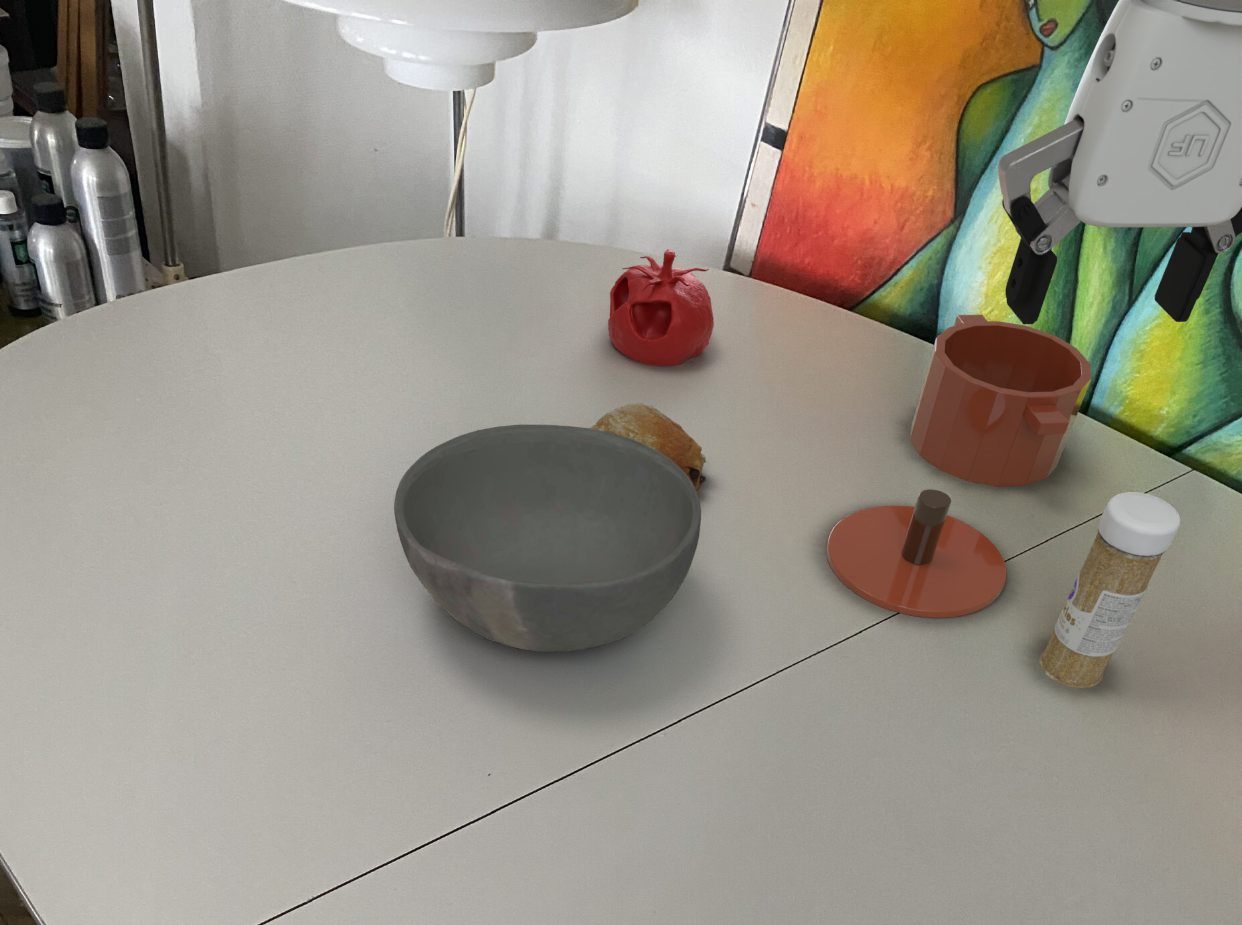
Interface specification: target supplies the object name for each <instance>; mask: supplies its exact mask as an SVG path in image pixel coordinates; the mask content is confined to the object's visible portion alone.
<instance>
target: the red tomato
mask: <svg viewBox="0 0 1242 925" xmlns="http://www.w3.org/2000/svg"><path fill="white" fill-rule="evenodd" d="M677 257H678V255H677V254H676V251H675V250H672V249H669V248H668V249H666V250H665V251H664V252H663V260H662V265H659V264H658V263H657V262H656V260H655V259H654V258H653V257H651V256H648V255H646V256H640V259H646V260H647V261H648V262H649V264H637V265H633V266H629V267H623V268H621V269H622V270H626V271H624V272H623V273H622V274H621V275H620V276H619V277H618V278H617V279H616V280H615V282H614V285H613V286H612V288H611V289H610V292H609V299H610V300H609V318H608V320H607V329H608V330H607V331H608V337H609V339H610V341H611V343H612V345H613V346H614V348H615V350H617V351H619V353H621V354H622V355H624V356H626V357H627V358H628V359H631V360H632V361H633V362H637V363H641V364H643V365H647V366H654V367H655V366H656V367H675V366H676V367H677V366H679V365H682V364H684V362H686V361H687V360H688V359H691V358H696V357H698V356H700V355H701V354H702V353H703V352H704V351H705V350H706V349H707V346H709V344H710V340H711V337H712V334H713V331H714V325H715V321H714V320H715V319H714V312H713V309H712V299H711V296H710V294H709V292H708V289H707V288H706V286H705V284H703V282H702V281H700V280H699V279H698V278H697V277H696V275H694V274H693V273H692V272H707V271H709V270H710V268H706V269H704V268H700V267H693V268H689V269H685V268H679V267H678V268H677V267H673V264H674V262H675V258H677Z"/></svg>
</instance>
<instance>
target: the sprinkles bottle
mask: <svg viewBox="0 0 1242 925" xmlns="http://www.w3.org/2000/svg"><path fill="white" fill-rule="evenodd" d="M1097 524H1098V526H1097V533H1096V535H1095V538H1094V540H1093V543H1092V545H1091V547H1090V549H1089V552H1088V553H1087V556H1086V558H1085V560H1084V563H1083V565H1082V567H1081V569H1080V570H1079V572H1078V574H1077V575H1076V576H1077V577H1076V579H1075V581H1074V583H1073V585H1072V588H1071V590H1070V592H1069V594H1068V596H1067V599H1066V600H1065V603H1064V605H1063V607H1062V609H1061V611H1060V614H1059V616H1058V618H1057V619H1056V622H1055V625H1054V629H1053V631H1052V634H1051V635H1050V637H1049V640H1048V643H1046V646H1045V648H1044V651H1043V652H1041V654H1040V656H1039V659H1038V660H1039V661H1038V663H1039V667H1040V669H1041V670H1042V671H1043V673H1044V674H1045V675H1046V676H1047V677H1048V678H1049V679H1051V680H1053V681H1054V682H1056V683H1058V684H1061V685H1062V686H1065V687H1069V688H1075V689H1090V688H1093V687H1095V686H1096V685H1097V684H1100V682H1101V681H1102V680H1103V677H1104V673H1105V672H1104V671H1105V670H1106V668H1107V666H1108V665H1109V662H1110V660H1111V658H1112V657H1113V654H1114V652H1115V651H1116V650H1117V648H1118V647H1119V645H1120V643H1121V641H1122V639H1123V637H1124V635H1125V633H1126V631H1127V630H1128V627H1129V625H1130V623H1131V621H1132V620H1133V617H1134V615H1135V613H1136V611H1137V609H1138V607H1139V605H1140V603H1141V602H1142V600H1143V598H1144V596H1145V593H1146V592H1147V589H1148V587H1149V583H1150V581H1151V579H1152V576H1153V575H1154V574H1155V573H1154V572H1155V570H1156V569H1157V567H1158V565H1159V563H1160V560H1161V559H1162V556H1163V555H1164V554H1165V553H1166V552H1167V550H1168V549H1169V548H1170V547H1171V545H1172V543H1173V542H1174V539H1175V538H1176V535H1177V533H1178V531H1179V528H1180V526H1181V517H1180V513H1179V512H1178V510H1177V509H1176V508H1175V507H1173V505H1171V504H1170V503H1169V502H1168V501H1166V500H1164V499H1163V498H1160V497H1158V496H1155V495H1153V494H1149V493H1145V492H1139V491H1126V492H1121V493H1118V494H1116V495H1113V496H1112V497H1111V498H1110V499H1109V500H1108V502H1107V504H1106V505H1105V508H1104V510H1103V512H1102V514H1101V516H1100V518H1099V521H1098V523H1097Z"/></svg>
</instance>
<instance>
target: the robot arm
mask: <svg viewBox="0 0 1242 925" xmlns="http://www.w3.org/2000/svg"><path fill="white" fill-rule="evenodd" d="M996 168H997V174H998V179H999V188H1000V192H1001V195H1002V201H1001V206H1002V209H1003V210H1004V211H1005V213H1006V215H1007V217H1008V218H1009V220H1010V223H1011V224H1012V225H1013V227H1014V230H1015V232H1016V233H1017V235H1019V237H1020V239H1019V243H1018V247H1017V249H1016V253H1015V255H1014V259H1013V262H1012V265H1011V267H1010V268H1011V269H1010V272H1009V275H1008V279H1007V280H1006V285H1005V290H1004V291H1005V292H1004V293H1005V298H1006V304H1007V306H1008V307H1009V309H1010V310H1011V311H1012V312H1013V313H1014V315H1015V316H1016V318H1017V319H1018V320H1019V321H1020V322H1021V323H1022V325H1034V324H1035V323H1036V322H1038V320H1039V318H1040V314H1041V311H1042V308H1043V306H1044V302H1045V300H1046V296H1047V294H1048V290H1049V287H1050V284H1051V282H1052V279H1053V275H1054V273H1055V270H1056V266H1057V264H1058V256H1057V254H1055V252H1054V251H1053V248H1054V247H1055V246H1056V245H1057V244H1058V243H1060V241H1062V240H1063V239H1064V238H1065V237H1066V236H1067V235H1069V233H1070V232H1071V231H1073V230H1074V229H1075V228H1076V227H1077V226H1078V225H1079V224H1080V223H1081V222H1082V223H1083V224H1086V225H1089V226H1092V227H1098V228H1100V227H1101V228H1191V230H1190V231H1182V232H1181V234H1180V236H1179V237H1178V238H1177V239H1176V242H1175V244H1174V246H1173V249H1172V252H1171V255H1170V256H1169V259H1168V261H1167V265H1166V266H1165V269H1164V271H1163V274H1162V276H1161V279H1160V281H1159V284H1158V286H1157V288H1156V291H1155V294H1154V301H1155V302H1156V304H1157V305H1158V306H1159V307H1160V308H1162V309H1163V311H1164V312H1165V313H1166V314H1167V315H1168V316H1169V317H1170V318H1171V319H1172V320H1174V321H1175V322H1176V323H1186V322H1187V321H1189V319H1190V316H1191V315H1192V312H1193V309H1194V307H1195V305H1196V303H1197V300H1198V299H1199V298H1200V297H1201V295H1202V293H1203V291H1204V289H1205V286H1206V283H1207V281H1208V279H1209V276H1210V274H1211V272H1212V271H1213V267H1214V265H1215V263H1216V260H1217V258H1218V256H1219V254H1221V255H1222V254H1225V253H1227V252H1229V250H1231V249H1232V248H1233V246H1234V244H1235V242H1236V238H1237V237H1238V236H1239V235H1241V234H1242V0H1118V1H1117V3H1116V5H1115V7H1114V9H1113V10H1112V13H1111V15H1110V16H1109V18H1108V20H1107V22H1106V24H1105V26H1104V28H1103V30H1102V32H1101V34H1100V36H1099V38H1098V41H1097V42H1096V44H1095V47H1094V49H1093V52H1092V54H1091V56H1090V58H1089V60H1088V63H1087V65H1086V67H1085V70H1084V72H1083V74H1082V76H1081V79H1080V82H1079V84H1078V86H1077V89H1076V92H1075V94H1074V98H1073V99H1072V101H1071V105H1070V107H1069V110H1068V112H1067V114H1066V118H1065V121H1064V124H1063V125H1060V126H1059V127H1057V128H1055V129H1053V130H1051V131H1049V132H1047V133H1045V134H1042V135H1040V136H1038V138H1035V139H1033V140H1031V141H1029V142H1028V143H1025V144H1024V145H1022V146H1021V145H1020V147H1017V148H1016V149H1013V150H1012V151H1010V152H1008V153H1006V154H1004V155H1002V156H1001V157H1000V159H999V160H998V162H997V167H996ZM1047 170H1049V173H1048V180H1047V185H1048V189H1047V190H1046V191H1045V192H1044V193H1043V194H1042V195H1041V196H1040V197H1039V198H1038V199H1037V200H1036V201H1035V202H1033V201H1032V194H1031V192H1032V189H1031V183H1032V181H1033V180H1034V178H1035V177H1036V176H1038V174H1041V173H1042V172H1045V171H1047Z"/></svg>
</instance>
